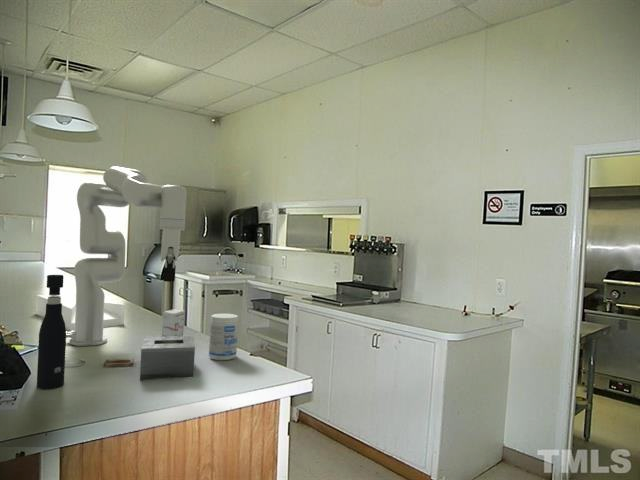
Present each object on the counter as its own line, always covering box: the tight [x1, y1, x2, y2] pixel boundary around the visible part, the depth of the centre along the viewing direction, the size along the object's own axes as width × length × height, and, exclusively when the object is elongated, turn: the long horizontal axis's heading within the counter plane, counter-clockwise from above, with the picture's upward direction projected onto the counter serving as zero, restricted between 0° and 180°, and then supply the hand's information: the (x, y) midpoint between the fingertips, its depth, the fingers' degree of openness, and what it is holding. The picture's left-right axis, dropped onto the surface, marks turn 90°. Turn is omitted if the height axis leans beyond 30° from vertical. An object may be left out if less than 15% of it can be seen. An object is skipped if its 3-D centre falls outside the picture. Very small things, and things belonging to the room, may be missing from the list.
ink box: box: [161, 308, 186, 336], centre depth 176 cm, size 9×5×12 cm, turn 168°
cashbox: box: [139, 335, 196, 381], centre depth 139 cm, size 15×15×9 cm
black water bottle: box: [36, 274, 67, 390], centre depth 121 cm, size 6×6×30 cm
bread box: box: [35, 294, 126, 332], centre depth 207 cm, size 45×22×10 cm, turn 48°
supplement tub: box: [208, 313, 239, 361], centre depth 157 cm, size 10×10×15 cm
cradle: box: [102, 357, 135, 368], centre depth 143 cm, size 8×5×1 cm, turn 108°
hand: (169, 279), depth 140 cm, fingers open, 9 cm apart
